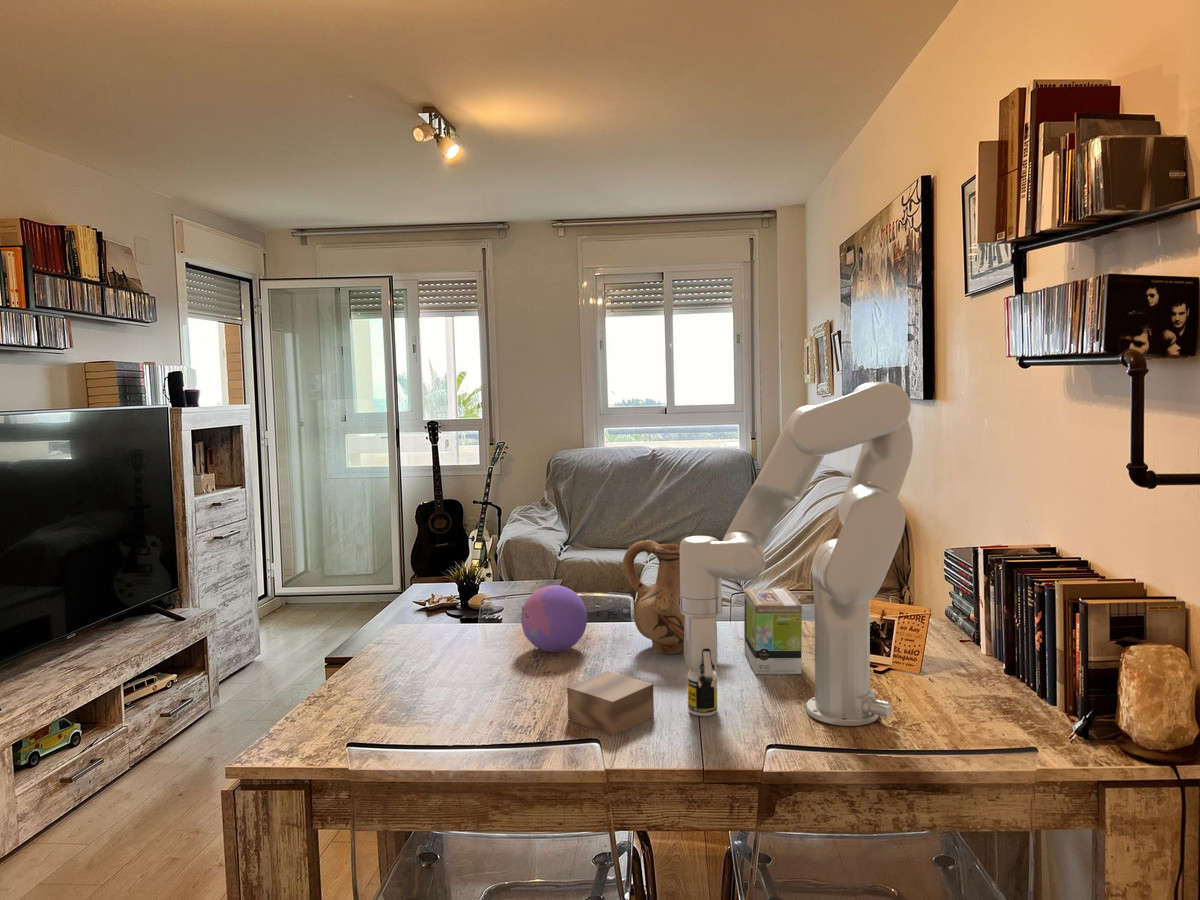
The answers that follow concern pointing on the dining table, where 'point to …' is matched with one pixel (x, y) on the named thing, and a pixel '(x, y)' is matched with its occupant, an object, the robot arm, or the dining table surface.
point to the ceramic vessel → (658, 597)
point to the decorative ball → (554, 618)
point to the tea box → (773, 631)
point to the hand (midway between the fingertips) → (702, 700)
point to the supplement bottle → (692, 694)
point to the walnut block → (610, 702)
